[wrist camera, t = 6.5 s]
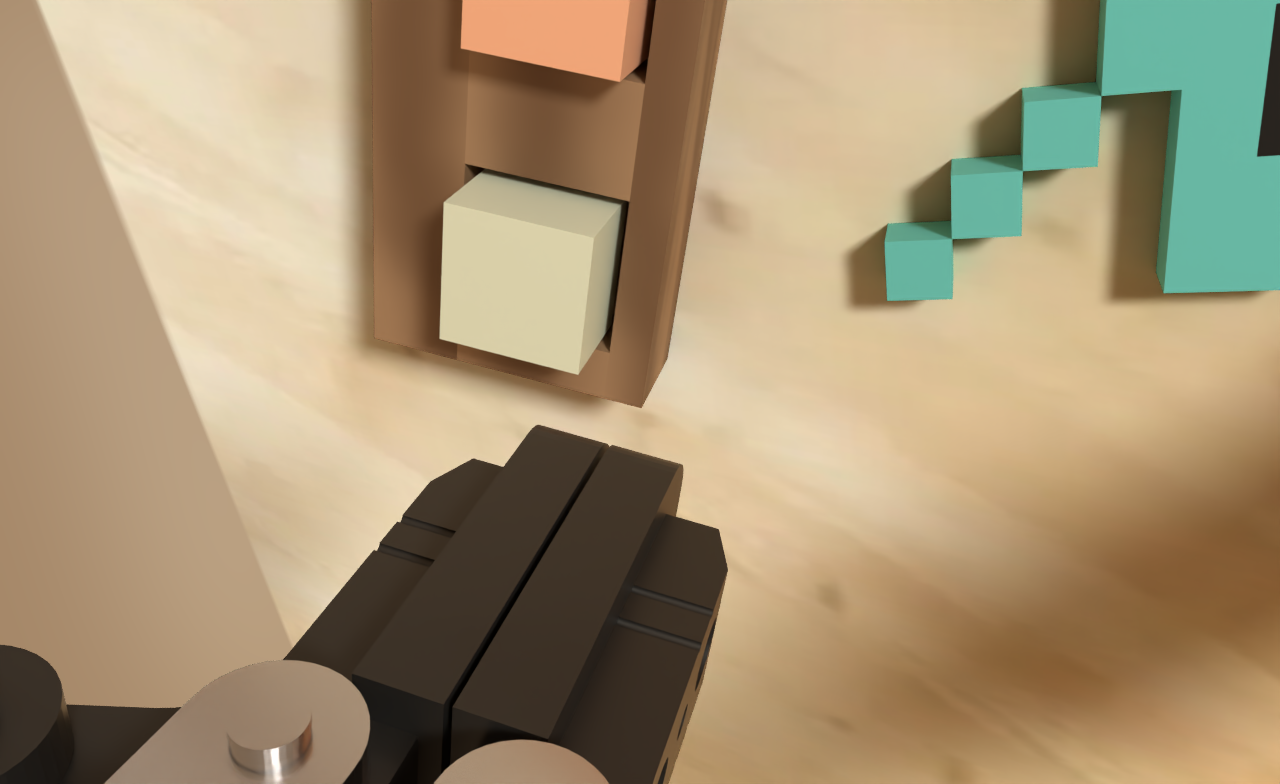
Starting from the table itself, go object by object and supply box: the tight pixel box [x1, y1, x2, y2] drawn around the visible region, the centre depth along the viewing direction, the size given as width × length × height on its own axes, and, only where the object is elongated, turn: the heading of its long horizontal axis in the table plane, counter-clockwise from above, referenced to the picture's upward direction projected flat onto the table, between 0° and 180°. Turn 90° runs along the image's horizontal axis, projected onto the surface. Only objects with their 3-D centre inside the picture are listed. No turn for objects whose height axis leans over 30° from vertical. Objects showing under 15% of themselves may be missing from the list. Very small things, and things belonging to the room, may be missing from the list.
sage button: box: [440, 169, 628, 375], centre depth 37 cm, size 5×5×4 cm
